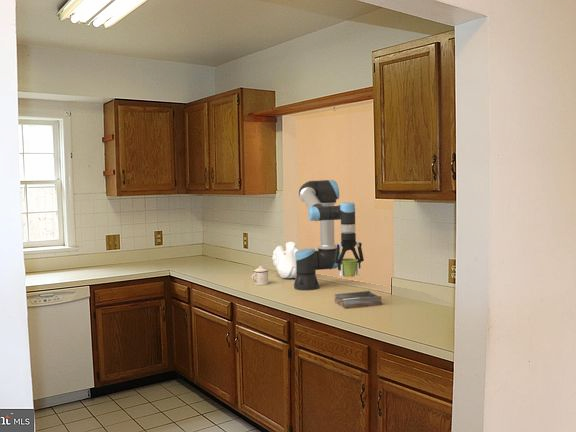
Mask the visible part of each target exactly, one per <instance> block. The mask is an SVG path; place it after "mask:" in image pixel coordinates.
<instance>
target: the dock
mask: <svg viewBox="0 0 576 432" xmlns="http://www.w3.org/2000/svg"><path fill="white" fill-rule="evenodd" d="M334 303H335V304H337V305H338V306H340V307H342V308H343V309H345V310H347V309H348V310H349V309H355V308H356V309H357V308H364V307H365V308H366V307H367V308H368V307H375V306H381V305H382V296H381V295H377V294H375V293H373V292H371V291H370V290H364V291H353V292H346V293H345V292H344V293H334Z"/></svg>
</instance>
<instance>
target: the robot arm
mask: <svg viewBox="0 0 576 432" xmlns="http://www.w3.org/2000/svg"><path fill="white" fill-rule="evenodd" d="M298 197H299V199H300V200H301V202H303V203H304V204H305V205H306V207H307V209H308V210H307V217H308V220H309V221H311V222H312V221H314V222H319V230H320V231H319V234H320V236H319V237H320V238H319V239H320V245H319V246H318V247H317V250H316V249H315V248H313V247H312V248H303V249H300V250H299V251H298V252H297V253H296V273H297V275H296V278H294V279H295V280H294V283H293V288H294V289H295V290H297V291H298V290H299V291H311V290H316V289H318V288H320V284H319V280H318V278H317V272H316V271H318V270H319V271H321V270H335V269H337V270H338V271H339V277H341V278H343V277H344V276H343V264H341V262H342V260H343V259H344V257H345V254H346V253H347V251H351V252H352V254H353V256H354V259H356V260H358V261H357V264H356V272H355V276H360V269H361V263H362V262H364V253H363V250H362V249H363V248H362V246H363V245H362V242H360V241H359V242H358V241H357V238H356V237H357V235H356V230H357V229H356V208H355V207H356V204H355V202H350V201H349V202H340V204H338V205H336V203H337V200H339V198H340V189H339V185H338V183H337V181H336V180H334V179H327V180H325V179H322V180H321V179H320V180H309V181H306V182H305V183H303V184H302V185H301V186H300V188H299V190H298ZM338 220H339V221H340V242H339V243H335V221H338ZM355 247H357V249H356V248H355ZM340 250H341V251H340ZM357 251H358V253H357Z"/></svg>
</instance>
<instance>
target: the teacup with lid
mask: <svg viewBox="0 0 576 432" xmlns="http://www.w3.org/2000/svg"><path fill="white" fill-rule="evenodd" d="M251 280H252V282H254V285H255V286H266V285H269V270H268V269H267V268H265V267H263V265H259V267H257V268H256V269H254V270H253V274H252V275H251Z"/></svg>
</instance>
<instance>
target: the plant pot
mask: <svg viewBox="0 0 576 432" xmlns="http://www.w3.org/2000/svg"><path fill="white" fill-rule="evenodd" d="M357 261H358V260H356V259H355V258H347V257H346V258H343V260H342V262H341V264H343V277H346V278H353V277H355V276H356V264H357Z"/></svg>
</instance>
